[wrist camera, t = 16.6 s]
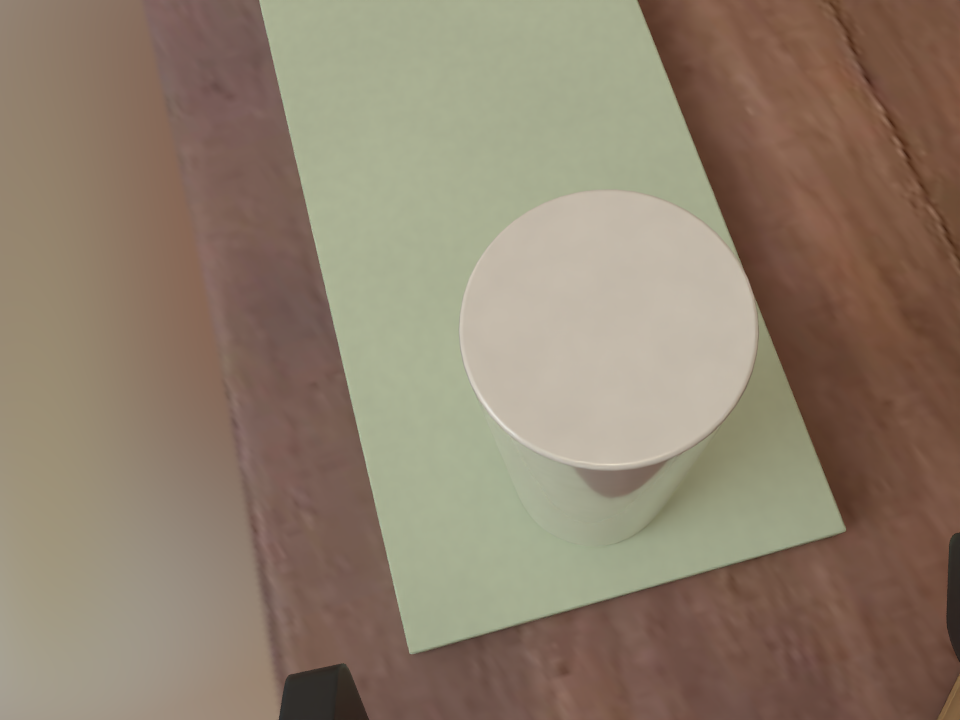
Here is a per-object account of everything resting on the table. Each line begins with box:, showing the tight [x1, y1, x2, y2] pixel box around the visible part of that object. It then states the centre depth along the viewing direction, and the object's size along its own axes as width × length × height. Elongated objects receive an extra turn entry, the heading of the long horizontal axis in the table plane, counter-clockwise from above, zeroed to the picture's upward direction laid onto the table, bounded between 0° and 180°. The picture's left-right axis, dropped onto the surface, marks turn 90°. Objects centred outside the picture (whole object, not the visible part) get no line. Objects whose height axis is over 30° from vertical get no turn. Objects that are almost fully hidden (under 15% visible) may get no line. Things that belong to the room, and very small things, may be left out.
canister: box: [459, 189, 759, 546], centre depth 19 cm, size 4×4×12 cm
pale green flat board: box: [259, 0, 846, 654], centre depth 30 cm, size 40×12×1 cm, turn 15°
